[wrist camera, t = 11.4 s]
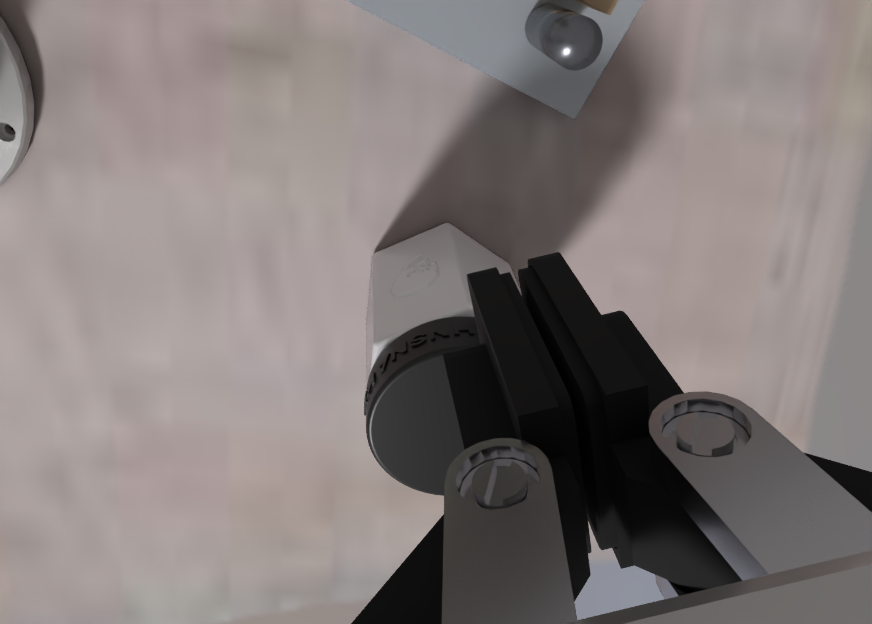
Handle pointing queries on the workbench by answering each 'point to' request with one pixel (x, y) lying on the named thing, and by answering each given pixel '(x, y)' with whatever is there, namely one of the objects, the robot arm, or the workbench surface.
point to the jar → (419, 351)
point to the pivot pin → (564, 36)
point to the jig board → (507, 41)
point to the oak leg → (600, 5)
